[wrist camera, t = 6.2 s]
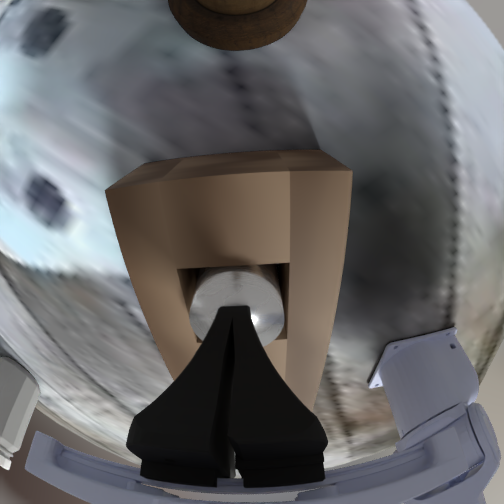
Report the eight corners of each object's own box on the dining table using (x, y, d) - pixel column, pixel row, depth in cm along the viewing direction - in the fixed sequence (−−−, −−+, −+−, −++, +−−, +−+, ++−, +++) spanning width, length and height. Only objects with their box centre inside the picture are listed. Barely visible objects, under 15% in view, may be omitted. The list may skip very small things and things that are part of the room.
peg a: (275, 230, 15) (285, 281, 11) (276, 292, 17) (283, 349, 13) (196, 235, 15) (179, 286, 11) (207, 296, 17) (199, 352, 13)
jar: (-6, 355, 27) (-42, 430, 12) (8, 349, 25) (-35, 440, 10) (31, 390, 32) (3, 465, 16) (51, 390, 30) (21, 479, 14)
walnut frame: (320, 149, 14) (352, 171, 10) (301, 386, 26) (307, 427, 21) (144, 163, 14) (104, 190, 10) (206, 391, 26) (202, 431, 21)
